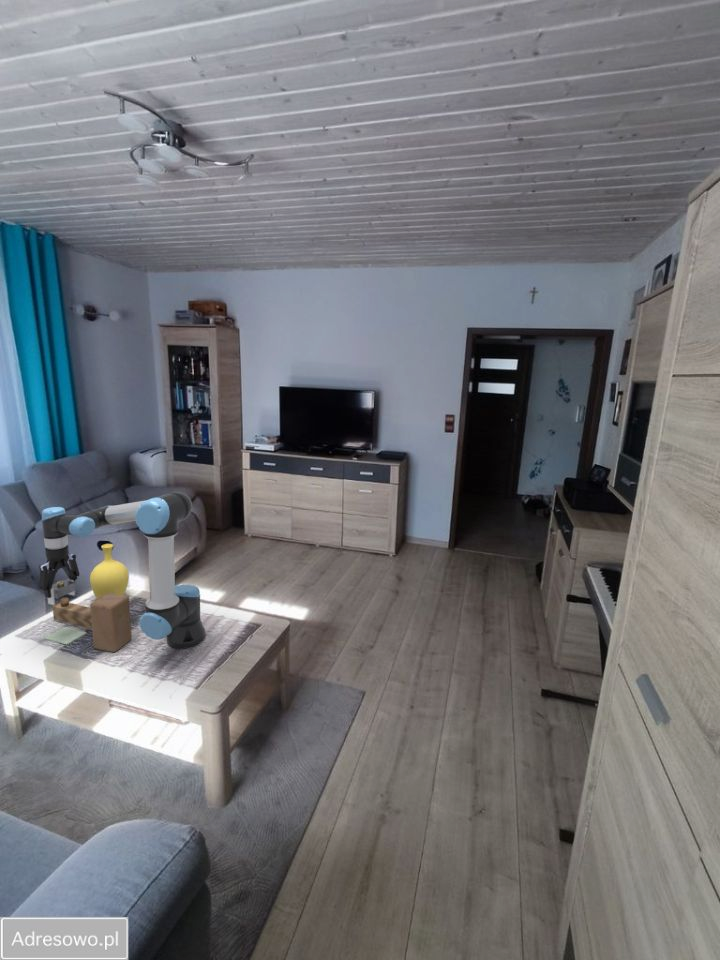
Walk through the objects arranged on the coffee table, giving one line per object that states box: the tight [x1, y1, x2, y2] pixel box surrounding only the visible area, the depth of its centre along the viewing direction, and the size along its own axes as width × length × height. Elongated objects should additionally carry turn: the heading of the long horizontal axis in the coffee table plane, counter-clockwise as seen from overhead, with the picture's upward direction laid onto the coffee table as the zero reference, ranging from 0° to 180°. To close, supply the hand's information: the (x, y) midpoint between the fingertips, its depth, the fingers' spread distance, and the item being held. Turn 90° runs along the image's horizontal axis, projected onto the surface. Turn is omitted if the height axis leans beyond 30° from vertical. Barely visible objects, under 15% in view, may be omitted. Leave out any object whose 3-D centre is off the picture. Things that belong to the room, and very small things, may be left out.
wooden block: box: [89, 593, 132, 653], centre depth 172 cm, size 10×10×20 cm
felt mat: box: [43, 626, 88, 646], centre depth 177 cm, size 12×9×1 cm
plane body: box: [52, 597, 97, 632], centre depth 186 cm, size 26×5×13 cm, turn 73°
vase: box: [89, 543, 130, 600], centre depth 205 cm, size 16×16×28 cm
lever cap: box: [51, 579, 77, 599], centre depth 173 cm, size 6×8×5 cm
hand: (61, 599), depth 174 cm, fingers closed on lever cap, 8 cm apart
